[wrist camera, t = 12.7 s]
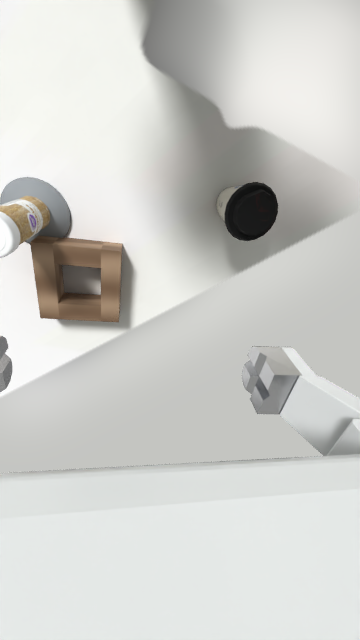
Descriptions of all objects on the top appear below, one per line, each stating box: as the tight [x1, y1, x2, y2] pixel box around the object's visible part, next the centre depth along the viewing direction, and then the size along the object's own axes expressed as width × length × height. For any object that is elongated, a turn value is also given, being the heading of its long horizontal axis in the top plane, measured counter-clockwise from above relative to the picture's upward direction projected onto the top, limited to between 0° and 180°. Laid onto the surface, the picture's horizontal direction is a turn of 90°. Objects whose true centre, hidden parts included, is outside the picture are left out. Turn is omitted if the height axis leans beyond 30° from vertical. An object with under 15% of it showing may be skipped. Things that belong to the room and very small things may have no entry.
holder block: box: [30, 235, 122, 322], centre depth 41 cm, size 12×12×4 cm
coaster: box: [0, 177, 70, 243], centre depth 37 cm, size 9×9×1 cm
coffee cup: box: [216, 182, 278, 241], centre depth 36 cm, size 7×7×10 cm
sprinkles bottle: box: [0, 196, 50, 258], centre depth 31 cm, size 5×5×13 cm
